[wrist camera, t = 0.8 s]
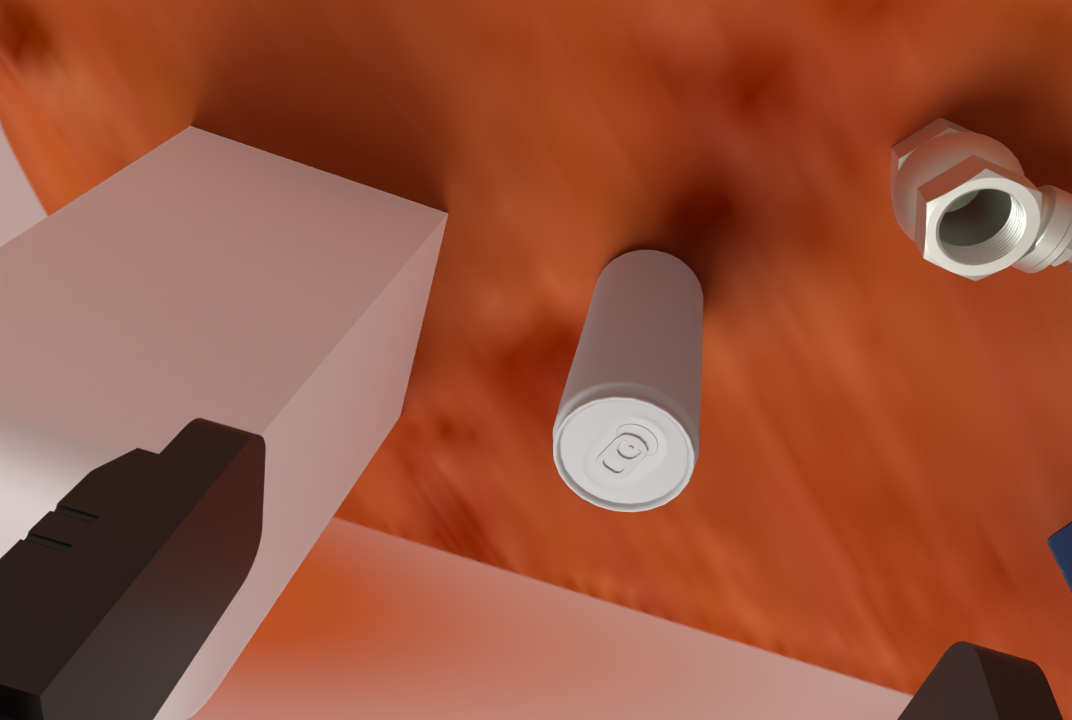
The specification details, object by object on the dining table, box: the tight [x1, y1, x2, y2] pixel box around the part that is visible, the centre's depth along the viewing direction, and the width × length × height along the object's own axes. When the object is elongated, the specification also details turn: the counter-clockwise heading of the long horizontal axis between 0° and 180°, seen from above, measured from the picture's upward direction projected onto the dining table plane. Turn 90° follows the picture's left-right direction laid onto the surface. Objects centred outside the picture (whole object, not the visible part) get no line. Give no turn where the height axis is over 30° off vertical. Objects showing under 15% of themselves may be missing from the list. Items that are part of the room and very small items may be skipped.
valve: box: [890, 117, 1072, 281], centre depth 30 cm, size 7×7×12 cm
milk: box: [0, 126, 448, 720], centre depth 29 cm, size 12×12×26 cm
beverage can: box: [553, 250, 703, 512], centre depth 32 cm, size 5×5×12 cm
